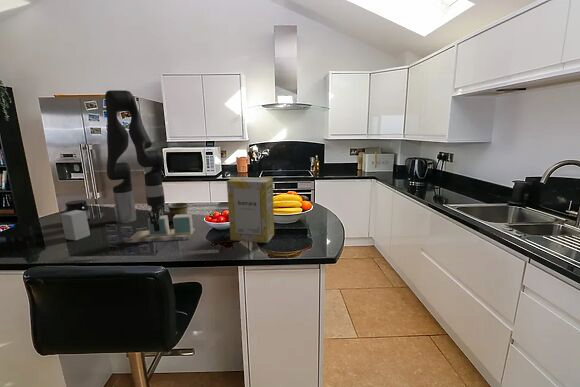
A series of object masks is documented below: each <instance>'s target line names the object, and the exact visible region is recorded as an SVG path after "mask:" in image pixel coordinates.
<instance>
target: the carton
mask: <svg viewBox="0 0 580 387" xmlns="http://www.w3.org/2000/svg"><path fill="white" fill-rule="evenodd" d="M156 217H158V216H156ZM154 221H155V220H154ZM169 224H170V223H169V217H168V215H167V214H165V215H162V216H160V219H159V227H160V231H158V232H155V231H154V224H151V221H150V217H149V216H148V218H147V226H148V230H149V232H150V237H162V236H168V234H169V233H170V231H169V229H170V225H169Z"/></svg>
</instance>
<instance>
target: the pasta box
mask: <svg viewBox="0 0 580 387" xmlns="http://www.w3.org/2000/svg"><path fill="white" fill-rule="evenodd" d="M273 181H274V179H273V177H246V176H245V177H243V176H235V177H233V178H231V179H228V180H227V181H226V191H227V205H228V208H227V209H228V221H229V236H230V238H229V240H230V241H237V242H239V241H240V242H251V243H264V244H269V242H270V241H271V239H273V237H274V235H275V221H274V220H275V216H274V215H275V214H274V213H275V212H274V209H275V208H274V184H273V183H274V182H273Z"/></svg>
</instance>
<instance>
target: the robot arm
mask: <svg viewBox="0 0 580 387" xmlns="http://www.w3.org/2000/svg"><path fill="white" fill-rule="evenodd" d="M104 101H105V102H104V103H105V113H106V120H107V121H106V124H107V125H106V126H107V127H106V130H107V131H106V144H107V145H106V146H107V147H106V148H107V158H106V160H107V161H106V176H107V178H108V179H109V180H110V181H118V180H119V181H120V180H122V181H121V183H119V184H117V185H115V186H113V187H112V192H113V197H114V198H113V199H114V204H115V205H114V206H113V210H114V214H115V215H114V216H115V222H116V223H118V224H127V223H132V222H135V221H137V211H136V207H135V198H134V193H133V192H134V191H133V185H132V174H131V167H130V165H129V162H127V161H126V162H124V161H123V162H118V161H119V160H118V159H119V158H120V157H121V156H122V155H123V154H124V153H125V152H126V151H127V149H128V147H129V139H131V141H132V144H133V145H134V148H135V153H136V154H135V155H136V159H137V160H136V161H137V163H138V165H139V166H140V167H142V168H151V167H152V168H151V170H149V171H148V172H145V173H144V175H143V178H144V184H145V190H144V192H145V197H146V204H147V206H148V207H149V206H150V207H151V209H150V211H149V212H148V218H149V217H150V221H151V224H154V231H155V232H158V231H160V227H159V219H160V216H162V215H166V211H165V204H166V200H165V199H166V198H165V190H164V186H163V185H164V184H163V180H162V178H163V177H162V173H163V166H164V161H165V160H164V155H163V154H162V152H161V151H159V150H156V149H155V150H148V149H149V148H151V147H152V141H151V139H150V137H149V135H148V134H149V133H148V132H147V130H146V128H145V127H144V123H143V121H142V117H141V115H140V110H139V108H138V105H137V102H136V100H135V97H134V95H133V93H131V91H129V90H121V89H120V90H119V89H118V90H117V89H116V90H115V89H114V90H113V89H112V90H110V89H109V90H107V91H106V92H105V94H104ZM118 112H119V113H121V112H129V114H130V122H129V126H128V130H127V129H126V128H125V127H124V125H123V124H122V123H121V121H120V120H119V118H118V114H117V113H118ZM156 216H158V217H156ZM154 220H155V221H154Z"/></svg>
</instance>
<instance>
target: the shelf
mask: <svg viewBox="0 0 580 387" xmlns="http://www.w3.org/2000/svg"><path fill="white" fill-rule="evenodd" d="M196 229H197V228H196V227H193V233H194V232H195V230H196ZM169 231H170V233H169V234H168V236H162V237H150V232H149V229H148V230H138V231H136V232H135V233H134V234H132V235H131V236H130V237H129V238H128V237H126V238H123V240H124V241H123V242H124V243H125V244H126V243H128V244H129V243H144V242H146V243H148V242H165V241H166V242H167V241H183V240H185V241H186V240H187V241H188V240H190V238H191V237H192V235H193V233H192V234H191V235H178V236H175V232H174V228H171V229H170V228H169Z"/></svg>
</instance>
